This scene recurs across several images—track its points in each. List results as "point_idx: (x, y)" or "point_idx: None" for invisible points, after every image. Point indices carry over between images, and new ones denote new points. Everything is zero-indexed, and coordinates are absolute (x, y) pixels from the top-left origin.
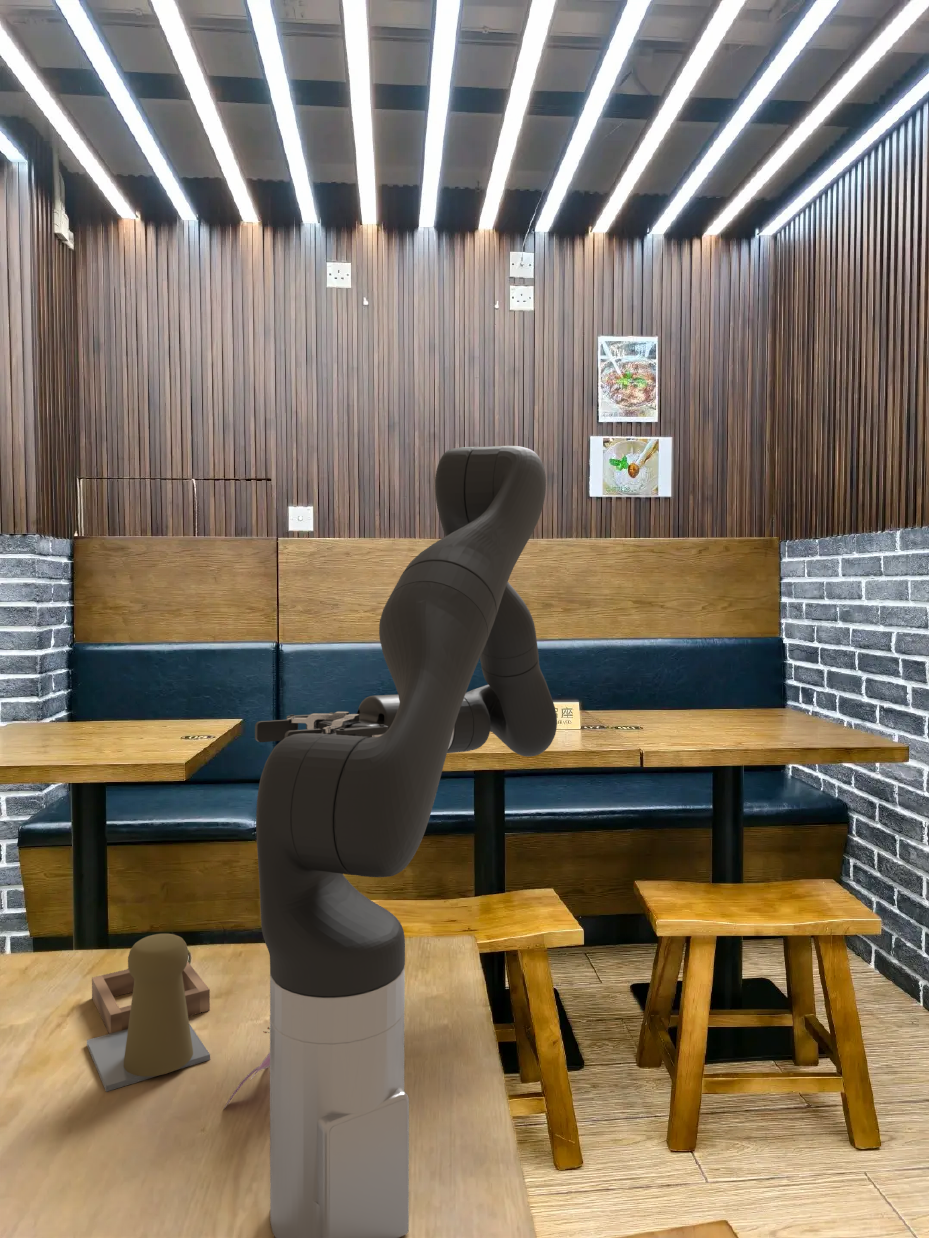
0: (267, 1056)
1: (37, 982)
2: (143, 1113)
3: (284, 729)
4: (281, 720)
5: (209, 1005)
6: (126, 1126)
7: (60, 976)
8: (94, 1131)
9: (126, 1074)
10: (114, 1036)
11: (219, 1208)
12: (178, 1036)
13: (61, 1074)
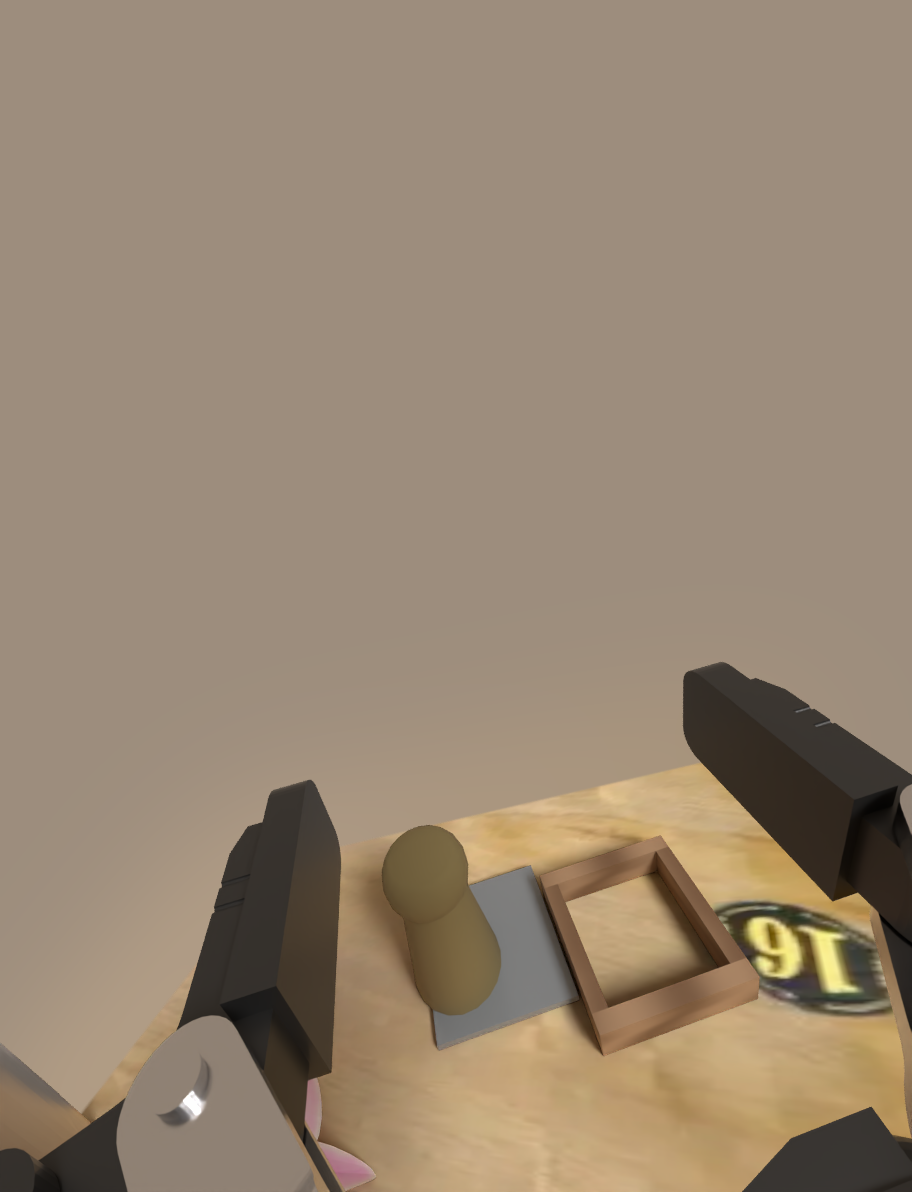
0: None
1: (709, 786)
2: (360, 953)
3: (806, 815)
4: (809, 752)
5: (603, 1051)
6: (347, 936)
7: (731, 806)
8: (357, 904)
9: None
10: (530, 896)
11: (153, 1051)
12: (415, 968)
13: (476, 855)
